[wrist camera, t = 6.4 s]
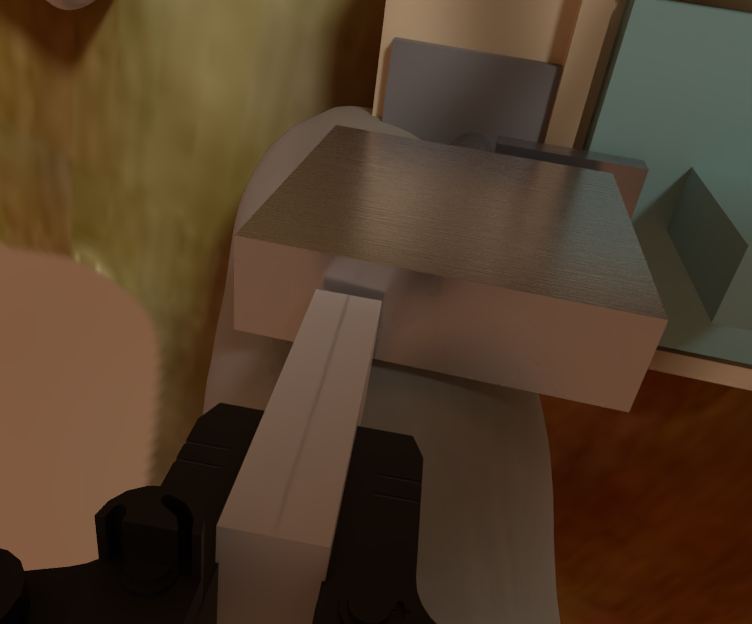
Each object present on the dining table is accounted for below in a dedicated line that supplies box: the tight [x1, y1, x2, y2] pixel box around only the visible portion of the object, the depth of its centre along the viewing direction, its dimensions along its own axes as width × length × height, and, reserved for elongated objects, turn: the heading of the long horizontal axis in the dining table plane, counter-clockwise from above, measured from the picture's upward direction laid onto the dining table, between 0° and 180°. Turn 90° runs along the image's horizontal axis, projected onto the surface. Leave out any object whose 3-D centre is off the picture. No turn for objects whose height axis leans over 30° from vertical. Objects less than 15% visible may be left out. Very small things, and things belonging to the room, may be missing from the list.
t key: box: [234, 125, 668, 412], centre depth 19 cm, size 10×2×13 cm, turn 83°
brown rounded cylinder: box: [203, 106, 561, 624], centre depth 21 cm, size 10×10×28 cm
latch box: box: [372, 0, 752, 391], centre depth 26 cm, size 22×16×7 cm
